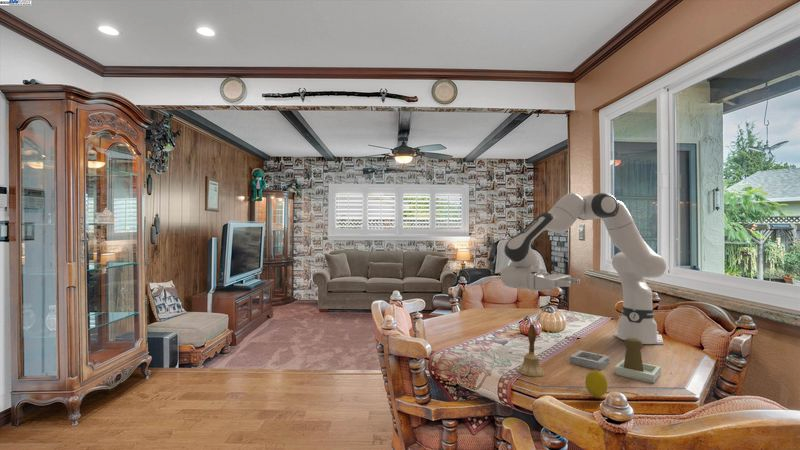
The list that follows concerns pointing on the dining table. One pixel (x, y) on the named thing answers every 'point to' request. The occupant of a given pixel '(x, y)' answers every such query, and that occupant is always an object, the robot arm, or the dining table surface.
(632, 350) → the cork
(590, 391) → the lemon
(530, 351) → the hand bell
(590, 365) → the grey square frame
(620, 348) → the dining table surface
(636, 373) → the sage tray
